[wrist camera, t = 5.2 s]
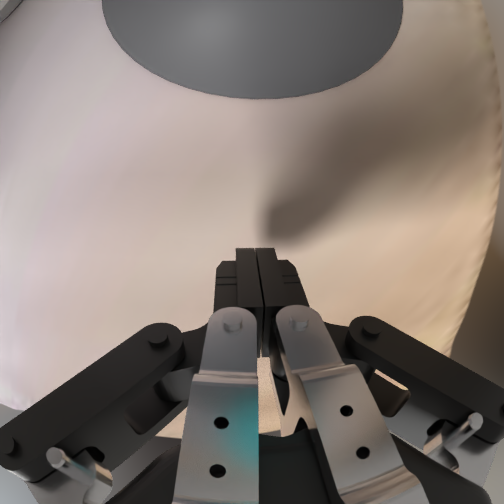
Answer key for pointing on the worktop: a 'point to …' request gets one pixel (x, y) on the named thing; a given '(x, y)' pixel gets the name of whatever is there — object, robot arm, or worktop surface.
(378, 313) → the worktop surface
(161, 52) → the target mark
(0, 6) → the travel mug
